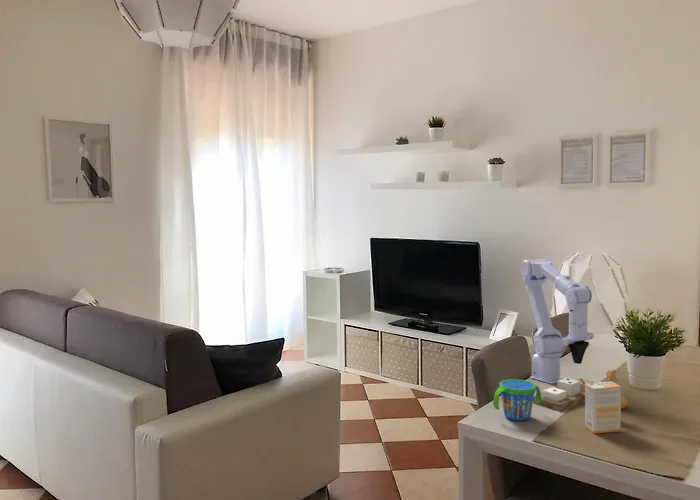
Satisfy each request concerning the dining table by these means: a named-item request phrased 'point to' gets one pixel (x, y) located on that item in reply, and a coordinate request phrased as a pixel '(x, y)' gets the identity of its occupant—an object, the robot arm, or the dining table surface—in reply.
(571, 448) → the dining table surface
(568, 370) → the dining table surface
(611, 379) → the figurine
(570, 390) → the tile two
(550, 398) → the tile one
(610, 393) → the supplement box
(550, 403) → the tile board
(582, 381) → the tile three
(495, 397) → the snack cup
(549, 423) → the dining table surface
